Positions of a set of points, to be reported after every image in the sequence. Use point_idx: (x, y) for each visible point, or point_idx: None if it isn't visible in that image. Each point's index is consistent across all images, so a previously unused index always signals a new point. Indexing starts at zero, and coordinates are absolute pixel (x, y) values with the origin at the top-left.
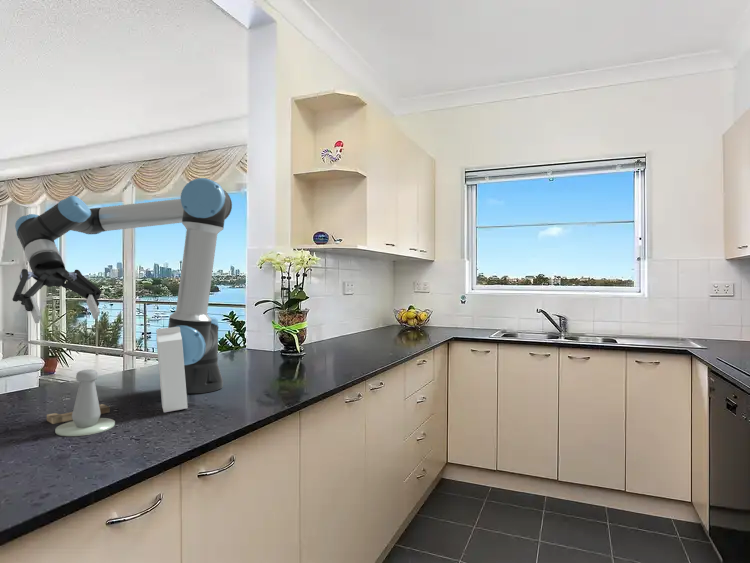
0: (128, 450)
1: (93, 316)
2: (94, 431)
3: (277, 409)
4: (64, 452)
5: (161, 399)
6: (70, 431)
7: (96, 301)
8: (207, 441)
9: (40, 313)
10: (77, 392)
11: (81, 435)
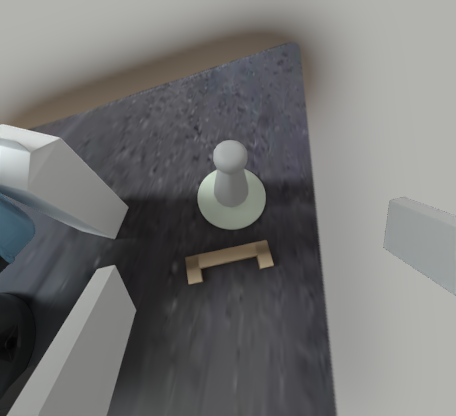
0: (213, 106)
1: (129, 317)
2: None
3: None
4: (262, 130)
5: (110, 234)
6: (251, 181)
7: (7, 412)
8: (148, 90)
9: (405, 206)
10: (243, 174)
11: None
